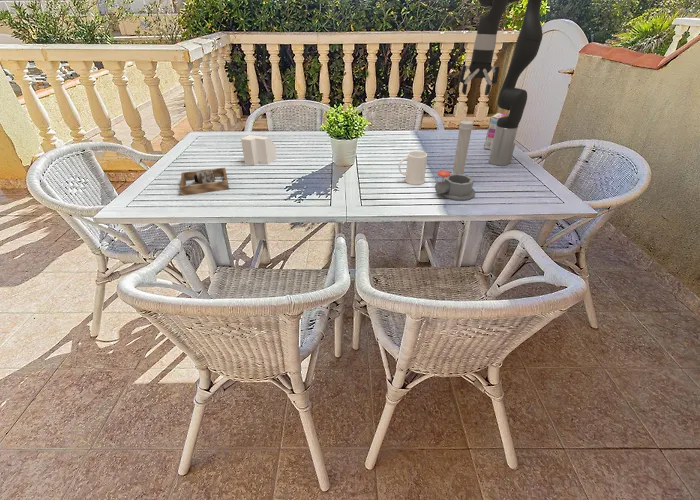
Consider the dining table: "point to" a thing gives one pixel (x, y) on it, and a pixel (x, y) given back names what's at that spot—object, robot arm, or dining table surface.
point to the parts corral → (205, 186)
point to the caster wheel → (204, 177)
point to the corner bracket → (258, 150)
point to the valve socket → (455, 186)
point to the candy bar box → (492, 130)
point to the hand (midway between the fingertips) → (475, 94)
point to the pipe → (462, 146)
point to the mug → (415, 167)
